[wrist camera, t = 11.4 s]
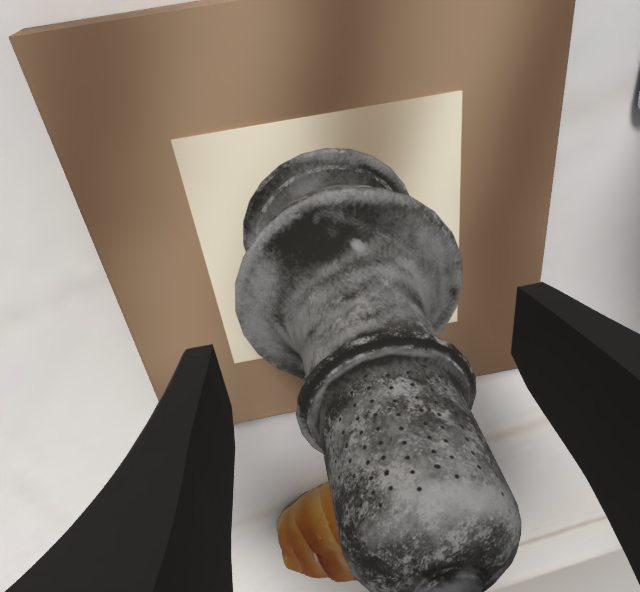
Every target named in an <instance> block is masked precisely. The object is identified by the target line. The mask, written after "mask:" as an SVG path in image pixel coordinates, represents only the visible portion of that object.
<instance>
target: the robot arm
mask: <svg viewBox="0 0 640 592" xmlns="http://www.w3.org/2000/svg"><path fill="white" fill-rule="evenodd" d="M638 107H639V110H640V93H639V98H638ZM511 354H512V357H513V359H514V361H515V363H516V365H517V367H518V370H519V372H520V374H521V376H522V378H523V380H524V382H525V384H526V386H527V388H528V390H529V391H530V393H531V394H532V396H533V398H534V399H535V401H536V402H537V404H538V405H539V407H540V408H541V410H542V411H543V413H544V414H545V416H546V417H547V419H548V420H549V422H550V423H551V425H552V426H553V428H554V429H555V431H556V432H557V434H558V435H559V437H560V438H561V440H562V441H563V443H564V444H565V446H566V447H567V449H568V450H569V452H570V453H571V455H572V456H573V458H574V459H575V461H576V462H577V464H578V465H579V467H580V469H581V470H582V472H583V474H584V475H585V477H586V478H587V480H588V482H589V484H590V486H591V487H592V489H593V491H594V493H595V495H596V497H597V499H598V501H599V503H600V505H601V506H602V508H603V510H604V512H605V514H606V516H607V518H608V520H609V522H610V524H611V526H612V528H613V530H614V532H615V534H616V536H617V538H618V540H619V542H620V544H621V546H622V548H623V550H624V552H625V554H626V556H627V558H628V560H629V563H630V565H631V567H632V569H633V571H634V573H635V576H636V578H637V580H638V582H639V584H640V334H639V333H637V332H635V331H633V330H631V329H629V328H627V327H625V326H623V325H621V324H619V323H617V322H615V321H613V320H612V319H610V318H608V317H606V316H604V315H602V314H600V313H599V312H597V311H595V310H593V309H591V308H590V307H588V306H586V305H584V304H582V303H581V302H579V301H577V300H575V299H573V298H572V297H570V296H568V295H566V294H564V293H563V292H561V291H559V290H557V289H555V288H553V287H551V286H549V285H547V284H545V283H543V282H540V283H535V284H530V285H524V286H519V287H517V294H516V304H515V314H514V325H513V335H512V345H511ZM234 461H235V439H234V425H233V413H232V405H231V402H230V399H229V395H228V392H227V389H226V386H225V382H224V379H223V376H222V373H221V369H220V366H219V363H218V360H217V356H216V353H215V350H214V347H213V344H210V345H205V346H199V347H194V348H189V349H186V350H185V351H184V353H183V354H182V356H181V359H180V361H179V363H178V365H177V367H176V369H175V371H174V374H173V376H172V378H171V380H170V382H169V384H168V386H167V388H166V390H165V392H164V393H163V395H162V397H161V399H160V401H159V403H158V404H157V406H156V408H155V410H154V412H153V414H152V415H151V417H150V419H149V421H148V422H147V424H146V426H145V427H144V429H143V431H142V432H141V434H140V435H139V437H138V439H137V440H136V442H135V443H134V445H133V447H132V448H131V450H130V451H129V453H128V454H127V456H126V457H125V459H124V460H123V462H122V463H121V464H120V466H119V467H118V469H117V470H116V471H115V473H114V474H113V476H112V477H111V478H110V480H109V481H108V482H107V484H106V485H105V486H104V488H103V489H102V490H101V491H100V493H99V494H98V495H97V496H96V498H95V499H94V500H93V501H92V502H91V504H90V505H89V506H88V507H87V508H86V510H85V511H84V512H83V513H82V514H81V515H80V517H79V518H78V519H77V520H76V521H75V522H74V524H73V525H72V526H71V527H70V528H69V529H68V530H67V531H66V533H65V534H64V535H63V536H62V537H61V538H60V539H59V540H58V541H57V542H56V543H55V544H54V545H53V546H52V547H51V548H50V549H49V550H48V551H47V552H46V553H45V554H44V555H43V556H42V557H41V558H40V559H39V560H38V561H37V562H36V563H35V564H34V565H33V566H32V567H31V568H30V569H29V570H28V571H27V572H26V573H25V574H24V575H23V576H22V577H21V578H20V579H18V580H17V581H16V582H15V583H14V584H13V585H12V586H11V587H10V588H8V589H7V590H6V591H5V592H233V583H232V564H231V527H232V505H233V484H234Z"/></svg>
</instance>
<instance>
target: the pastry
mask: <svg viewBox="0 0 640 592" xmlns="http://www.w3.org/2000/svg"><path fill="white" fill-rule="evenodd" d="M277 532H278V540H279V544H280V547H281V549H282V555H283V560H284V563H285V565H286V567H287V568H288V569H291V570H294V571H297V572H300V573H302V574H305V575H307V576H309V577H314V578H326V577H329V578H331V579H332V580H334V581H336V582H346V581H351V580H357V579H356V578H355V577H354V576H353V575H352V573H351V571H350V569H349V567H348V564H347V562H346V560H345V557H344V554H343V551H342V548H341V545H340V540H339V535H338V529H337V524H336V518H335V513H334V508H333V502H332V497H331V492H330V486H329V482H327V483H324V484H322V485H320V486H318V487H316V488H314V489H312V490H310V491H308V492H307V493H305V494H303V495H301V496H300V497H299V498H298V499H297V500H296V501H295V502H294V503H293V504H292V505H291V506H289V507H288V508H286V509H285V510H284V511H283V512H282V514H281V516H280V518H279V520H278V522H277Z"/></svg>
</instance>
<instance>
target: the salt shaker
mask: <svg viewBox="0 0 640 592" xmlns="http://www.w3.org/2000/svg"><path fill="white" fill-rule="evenodd" d="M243 245H244V248H245V251H246V253H245V255H244V256H243V259H242V262H241V265H240V268H239V272H238V275H237V278H236V281H235V312H236V315H237V318H238V321H239V324H240V326H241V329H242V332H243V335H244V336H245V338H246V339H247V340H248V342H249V343H250V344H251V345H252V347H253V348H254V349H255V351H256V352H257V353H258V355H260V356H261V357H262V358H264V359H265V360H267V361H268V362H269V363H271V364H272V365H273V366H275V367H276V368H277V369H279V370H282V371H284V372H287V373H289V374H291V375H294V376H296V377H299V378H301V379H305V381H304V383H303V385H302V388H301V390H300V392H299V395H298V397H297V413H296V416H297V420H298V423H299V426H300V429H301V432H302V434H303V436H304V437H305V438H306V439H307V441H308V442H309V443H310V444H311V446H312V447H313V448H315V449H316V450H318V451H320V452H321V453H323V454H324V459H325V465H326V470H327V475H328V481H329V486H330V492H331V497H332V502H333V508H334V513H335V518H336V524H337V529H338V535H339V540H340V545H341V548H342V551H343V554H344V557H345V560H346V562H347V564H348V567H349V569H350V571H351V573H352V575H353V576H354V577H355V578H356V579H357V580H358V581H359V582H360V583H361V584H362V585H363V586H364V587H366V588H367V589H368V590H369V591H370V592H484V591H486V590H487V589H488V588H489V587H491V586H492V585H493V584H494V583H495V582H496V581H497V580H498V579H499V577H500V576H501V575H502V574H503V573H504V572H505V570H506V569H507V568H508V567H509V566H510V565H511V563H512V561H513V559H514V557H515V555H516V553H517V549H518V545H519V540H520V536H521V518H520V514H519V510H518V506H517V502H516V500H515V498H514V496H513V494H512V492H511V490H510V488H509V486H508V484H507V482H506V480H505V478H504V476H503V474H502V472H501V470H500V468H499V466H498V464H497V462H496V460H495V458H494V456H493V454H492V452H491V450H490V448H489V446H488V444H487V442H486V440H485V438H484V436H483V434H482V432H481V430H480V428H479V426H478V424H477V422H476V420H475V418H474V416H473V414H472V412H471V409H472V405H473V402H474V399H475V395H476V379H475V374H474V372H473V370H472V368H471V366H470V363H469V361H468V359H467V358H466V357H465V356H464V355H463V354H462V353H461V352H460V351H459V350H458V349H457V348H456V347H455V346H454V345H453V344H451V343H449V342H447V341H445V340H443V339H441V338H439V337H438V336H439V334H440V333H441V332H442V331H443V330H444V329H445V327H446V325H447V324H448V322H449V320H450V318H451V316H452V315H453V313H454V311H455V309H456V308H457V305H458V301H459V297H460V293H461V289H462V285H463V265H462V256H461V253H460V250H459V248H458V245H457V243H456V240H455V237H454V235H453V233H452V231H451V230H450V229H449V228H448V227H447V226H446V224H445V223H444V222H443V221H442V220H441V218H440V217H439V216H438V215H437V214H436V212H435V211H433V210H432V209H430V208H429V207H427V206H426V205H424V204H422V203H421V202H419V201H418V200H416V199H414V198H413V197H411V196H409V193H408V191H407V189H406V186H405V184H404V183H403V182H402V181H401V179H400V178H399V177H398V176H397V175H396V174H395V172H394V171H393V170H392V169H391V168H390V167H389V166H387V165H386V164H384V163H383V162H381V161H380V160H378V159H377V158H375V157H373V156H372V155H369V154H366V153H362V152H359V151H356V150H352V149H343V148H323V149H319V150H315V151H311V152H306V153H302V154H300V155H298V156H296V157H294V158H292V159H290V160H288V161H286V162H285V163H283V164H281V165H279V166H278V167H277V168H276V169H275V170H274V171H272V172H271V173H270V174H269V175H268V176H267V177H266V178H265V179H264V180H263V181H262V182H261V183H260V185H259V186H258V188H257V189H256V191H255V193H254V194H253V196H252V197H251V199H250V201H249V204H248V207H247V210H246V214H245V217H244V221H243Z"/></svg>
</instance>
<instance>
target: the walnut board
mask: <svg viewBox="0 0 640 592" xmlns="http://www.w3.org/2000/svg"><path fill="white" fill-rule="evenodd" d="M574 8H575V0H201V1H195V2H188V3H182V4H176V5H170V6H163V7H157V8H151V9H144V10H138V11H132V12H126V13H119V14H113V15H107V16H100V17H94V18H88V19H82V20H75V21H69V22H63V23H56V24H50V25H44V26H37V27H31V28H25V29H22V30H20V31H19V32H17V33H15V34H13V35H11V36H9V40H10V42H11V44H12V47H13V49H14V52H15V54H16V56H17V59H18V61H19V64H20V66H21V69H22V71H23V73H24V76H25V78H26V81H27V83H28V86H29V88H30V90H31V93H32V95H33V98H34V100H35V103H36V105H37V107H38V110H39V112H40V115H41V117H42V119H43V122H44V124H45V127H46V129H47V132H48V134H49V136H50V139H51V141H52V144H53V146H54V149H55V151H56V153H57V156H58V158H59V161H60V163H61V166H62V168H63V170H64V173H65V175H66V178H67V180H68V182H69V185H70V187H71V190H72V192H73V195H74V197H75V199H76V202H77V204H78V207H79V209H80V212H81V214H82V216H83V219H84V221H85V224H86V226H87V228H88V231H89V233H90V236H91V238H92V241H93V243H94V245H95V248H96V250H97V253H98V255H99V258H100V260H101V262H102V265H103V267H104V270H105V272H106V275H107V277H108V279H109V282H110V284H111V287H112V289H113V291H114V294H115V296H116V299H117V301H118V304H119V306H120V308H121V311H122V313H123V316H124V318H125V321H126V323H127V325H128V328H129V330H130V333H131V335H132V338H133V340H134V342H135V345H136V347H137V350H138V352H139V354H140V357H141V359H142V362H143V364H144V367H145V369H146V371H147V374H148V376H149V379H150V381H151V384H152V386H153V388H154V391H155V393H156V396H157V398H158V401H160V399H161V397H162V395H163V393H164V392H165V390H166V388H167V386H168V384H169V382H170V380H171V378H172V376H173V374H174V371H175V369H176V367H177V365H178V363H179V361H180V359H181V356H182V354H183V353H184V351H185V350H186V349H189V348H194V347H199V346H205V345H210V344H213V347H214V350H215V353H216V356H217V360H218V363H219V366H220V369H221V373H222V376H223V379H224V382H225V386H226V389H227V392H228V395H229V399H230V402H231V405H232V413H233V424H234V423H239V422H244V421H249V420H254V419H260V418H265V417H270V416H275V415H280V414H285V413H290V412H296V411H297V397H298V395H299V392H300V390H301V388H302V385H303V383H304V381H305V379H301V378H299V377H296V376H294V375H291V374H289V373H287V372H284V371H282V370H279V369H277V368H276V367H275V366H273V365H272V364H271V363H269V362H268V361H267V360H265V359H264V358H262V357H261V356H260V355H258V353H257V352H256V351H255V349H254V348H253V347H252V345H251V344H250V343H249V342H248V340H247V339H246V338H245V336H244V335H243V332H242V329H241V326H240V324H239V321H238V318H237V315H236V312H235V281H236V278H237V275H238V272H239V268H240V265H241V262H242V259H243V256H244V255H245V253H246V251H245V248H244V245H243V221H244V217H245V214H246V210H247V207H248V204H249V201H250V199H251V197H252V196H253V194H254V193H255V191H256V189H257V188H258V186H259V185H260V183H261V182H262V181H263V180H264V179H265V178H266V177H267V176H268V175H269V174H270V173H271V172H272V171H274V170H275V169H276V168H277V167H278V166H279V165H281V164H283V163H285V162H286V161H288V160H290V159H292V158H294V157H296V156H298V155H300V154H302V153H306V152H311V151H315V150H319V149H323V148H343V149H352V150H356V151H359V152H362V153H366V154H369V155H372V156H373V157H375V158H377V159H378V160H380V161H381V162H383V163H384V164H386V165H387V166H389V167H390V168H391V169H392V170H393V171H394V172H395V174H396V175H397V176H398V177H399V178H400V179H401V181H402V182H403V183H404V184H405V186H406V189H407V191H408V193H409V196H411V197H413V198H414V199H416V200H418V201H419V202H421V203H422V204H424V205H426V206H427V207H429V208H430V209H432V210H433V211H435V212H436V214H437V215H438V216H439V217H440V218H441V220H442V221H443V222H444V223H445V224H446V226H447V227H448V228H449V229H450V230H451V231H452V233H453V235H454V237H455V240H456V243H457V245H458V248H459V250H460V253H461V256H462V265H463V285H462V289H461V293H460V297H459V301H458V305H457V308H456V309H455V311H454V313H453V315H452V316H451V318H450V320H449V322H448V324H447V325H446V327H445V329H444V330H443V331H442V332H441V333H440V334H439V336H438V337H439V338H441V339H443V340H445V341H447V342H449V343H451V344H453V345H454V346H455V347H456V348H457V349H458V350H459V351H460V352H461V353H462V354H463V355H464V356H465V357H466V358H467V359H468V361H469V363H470V366H471V368H472V370H473V372H474V374H475V376H480V375H486V374H491V373H496V372H501V371H506V370H511V369H516V368H518V367H517V365H516V363H515V361H514V359H513V357H512V354H511V345H512V335H513V325H514V314H515V304H516V294H517V287H519V286H524V285H530V284H535V283H540V279H541V271H542V263H543V255H544V247H545V239H546V231H547V223H548V215H549V207H550V199H551V191H552V183H553V175H554V167H555V159H556V151H557V143H558V135H559V127H560V119H561V111H562V103H563V95H564V87H565V79H566V71H567V64H568V56H569V48H570V40H571V32H572V24H573V16H574Z"/></svg>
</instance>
